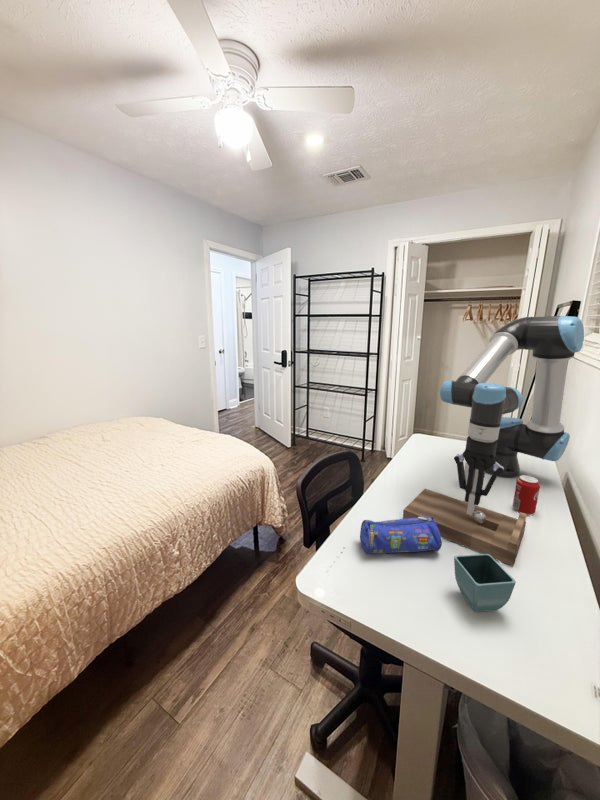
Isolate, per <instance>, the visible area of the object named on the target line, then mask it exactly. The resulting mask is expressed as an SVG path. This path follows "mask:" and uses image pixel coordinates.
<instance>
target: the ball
mask: <svg viewBox="0 0 600 800" xmlns="http://www.w3.org/2000/svg"><path fill="white" fill-rule="evenodd" d="M473 519H474V520H475V521H476V522H478V523H483V522H485V521H486V515H485V513H484V512H482V511H475V512H474V513H473Z"/></svg>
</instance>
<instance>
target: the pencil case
mask: <svg viewBox="0 0 600 800" xmlns="http://www.w3.org/2000/svg"><path fill="white" fill-rule="evenodd" d="M359 535H360V536H359V537H360V538H359V541H360V546H361V549H362V550H363V552H364V553H365V554H385V553H412V552H413V553H414V552H416V553H417V552H424V551H425V552H426V551H427V552H428V551H431V550H432V551H436V552H438V551H440V550H441V548H442V545H443V543H442V542H443V541H442V537H441V535H440V532H439V529H438V525H437V523H436V522H435V521H434V519H433V518H432V517H428V516H425V517H418V518H409V519H403V518H398V519H397V518H396V519H388V520H383V521H382V520H381V521H372V520H371V519H364V520H362V523H361V526H360V532H359Z"/></svg>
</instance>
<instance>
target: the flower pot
mask: <svg viewBox="0 0 600 800" xmlns="http://www.w3.org/2000/svg"><path fill="white" fill-rule="evenodd" d="M453 560H454V563H453V564H454V576H455V581H456V584H457V588H458V589H459V591H460V593H461V595H462V596H463V597H464V599H465V600H466V602H467V603H468V604H469V606H470V607H471V609H472V610H473V612H474V613H475V612H476V613H481V612H493V611H494V612H495V611H498V610H499V609H501V608H503V607H504V606H505V605H506V604H507V603H508V602H509V601H510V599H511V596H512V593H513V591H514V589H515V585H516V583H517V582H516V579H515V578H513V577H512V576H511V575H510V573H508V572H507V571H506V569H504V568H503V567H502V566H501V564H499V562H497V560H496V559H494V558H493V557H492V556H491V555H489V554H481V553H479V554H467V555H455V556H454V557H453Z"/></svg>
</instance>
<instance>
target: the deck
mask: <svg viewBox="0 0 600 800" xmlns="http://www.w3.org/2000/svg"><path fill="white" fill-rule="evenodd" d="M467 508H468V502H465V500H461V499H458V498H455V497H451V496H449V495H446V494H442V493H440V492H438V491H437V492H436V491H433V490H430V489H427V488H423V490H422V491H421V492H420V493H418V495H417V496H415V498H413V500H411V502H410V503H408V505H406V506H405V507H404V508H403V510H402V511H403V512H402V513H403V514H402V519H409V518H418V517H425V516H428V517H432V518H433V519H434V521H435V522H436V523H437V525H438V529H439V532H440V535H441V538H443V539H446V540H448V541H451V542H453V543H455V544H457V545H460V546H462V547H465V548H468V549H470V550H471V551H472V550H473V551H475V552H477V553H479V554H489V555H491V556H492V557H493V558H494V559H495V561H499V562H501V563H503V564H506V565H508V566H510V567H514V566H515V563H516V560H517V556H518V554H519V550H520V547H521V545H522V541H523V538H524V536H525V535H524V534H525V530H526V524H527V522H526V520H527V519H526V518H527V515H526V514H525V513H521V512H520V514H518V517H517V518H516V517H512V516H509V515H507V514H504V513H500V512H497V511H493V510H491V509H488V508H485V507H482V506H479V505H478V506H477V505H475V509H474V512H475V511H482V512H484V513H485V515H486V521H485V522H483V523H478V522H476V521H475V520H474V519H473V514H472V516H471V515H469V514H467Z"/></svg>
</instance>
